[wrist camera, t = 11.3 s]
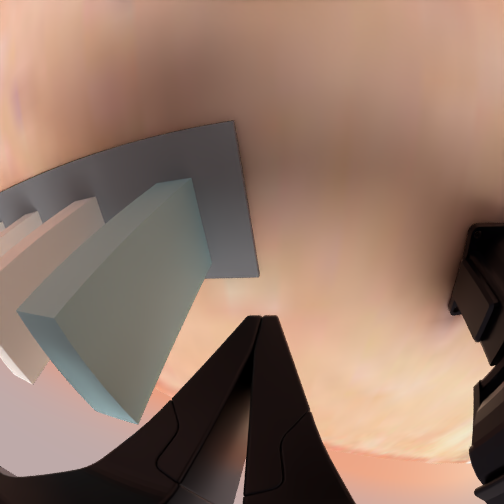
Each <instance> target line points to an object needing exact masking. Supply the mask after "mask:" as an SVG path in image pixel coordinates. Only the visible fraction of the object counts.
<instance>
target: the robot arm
mask: <svg viewBox="0 0 504 504" xmlns="http://www.w3.org/2000/svg"><path fill="white" fill-rule="evenodd" d="M477 231H478V233H477V234H476V235H475V233H476V232H477ZM448 309H449V311H450V314H451V315H461V314H462V316H463V318H464V320H465V322H466V324H467V326H468V328H469V330H470V333H471V335H472V337H473V339H474V340H475V342H480V343H481V345H482V347H483V350H484V352H485V354H486V357H487V359H488V362H489V364H490V366H494V365H496V366H495V367H494V368H493V369H492V370H491V371H490V372H489V373H488V374H487V375H486V376H485V378H484V379H483V380H480V381H479V382H478V383H477V384H476V385H475V386H474V414H473V435H472V446H471V447H470V449H469V456H470V460H471V464H472V467H473V469H474V471H475V473H476V476H477V477H478V479H479V480H480V481H481V483H482V484H483V485H482V486H480V487H478V488H476V489H475V491H474V494H475V496H477V497H479V498H480V499H482V500H484V501H485V502H486V503H487V504H504V223H476V224H473V225H472V226H471V227H470V228H469V231H468V236H467V241H466V245H465V250H464V254H463V258H462V261H461V264H460V267H459V271H458V275H457V279H456V282H455V286H454V289H453V292H452V298H451V301H450V304H449V307H448ZM245 459H246V467H245V481H244V493H243V494H244V496H245V497H243V504H356V503H355V502H354V500H353V499H352V497H351V495H350V493H349V491H348V489H347V488H346V486H345V484H344V482H343V480H342V479H341V477H340V475H339V473H338V471H337V470H336V468H335V466H334V464H333V462H332V460H331V459H330V457H329V455H328V452H327V450H326V448H325V446H324V444H323V442H322V440H321V437H320V435H319V432H318V430H317V427H316V424H315V422H314V419H313V416H312V413H311V412H310V407H309V405H308V402H307V399H306V396H305V393H304V390H303V387H302V384H301V381H300V379H299V376H298V373H297V370H296V367H295V364H294V361H293V358H292V355H291V353H290V350H289V347H288V344H287V341H286V338H285V335H284V332H283V330H282V327H281V324H280V321H279V318H278V316H276V315H265V316H263V317H262V316H260V315H250V316H247V317H246V318H245V319H244V320H243V322H242V323H241V324H240V325H239V326H238V327H237V328H236V329H235V331H234V332H233V333H232V334H231V335H230V336H229V337H228V338H227V339H226V341H225V342H224V343H223V344H222V345H221V346H220V347H219V348H218V349H217V351H216V352H215V353H214V354H213V355H212V356H211V357H210V358H209V359H208V360H207V361H206V363H205V364H204V365H203V366H202V367H201V368H200V369H199V370H198V371H197V372H196V373H195V374H194V376H193V377H192V378H191V379H190V380H189V381H188V382H187V383H186V384H185V385H184V386H183V387H182V388H181V389H180V390H179V391H178V393H177V394H176V395H175V396H174V397H173V398H172V400H170V401H169V402H168V403H167V404H166V405H165V406H164V407H163V408H162V409H161V410H160V411H159V412H158V413H157V414H156V415H155V416H154V417H153V418H152V419H151V420H150V421H149V422H148V423H146V424H145V425H144V426H143V427H142V428H140V429H139V430H138V431H137V432H136V433H135V434H133V435H132V436H131V437H129V438H128V439H127V440H126V441H124V442H123V443H122V444H121V445H119V446H118V447H117V448H115V449H114V450H113V451H111V452H110V453H109V454H107V455H106V456H105V457H103V458H102V459H100V460H99V461H97V462H96V463H94V464H92V465H90V466H87V467H84V468H81V469H77V470H72V471H66V472H59V473H53V474H45V475H37V476H27V477H17V476H15V475H14V474H12V473H10V472H9V471H7V470H5V469H4V468H2V467H1V466H0V504H233V503H234V499H235V496H236V491H237V489H238V485H239V481H240V477H241V473H242V470H243V466H244V462H245Z"/></svg>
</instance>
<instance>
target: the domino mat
mask: <svg viewBox="0 0 504 504" xmlns="http://www.w3.org/2000/svg"><path fill="white" fill-rule="evenodd" d="M186 178H192V182H193V187H194V191H195V196H196V200H197V204H198V208H199V213H200V217H201V221H202V225H203V229H204V233H205V237H206V241H207V245H208V249H209V253H210V257H211V261H212V264H211V266H210V268H209V270H208V272H207V274H206V276H205V279H207V278H250V277H259V275H260V273H259V267H258V261H257V255H256V249H255V243H254V237H253V231H252V225H251V219H250V213H249V207H248V201H247V195H246V189H245V183H244V177H243V171H242V165H241V159H240V154H239V148H238V142H237V136H236V130H235V124H234V121H228V122H221V123H216V124H210V125H205V126H199V127H194V128H189V129H185V130H180V131H175V132H171V133H167V134H162V135H158V136H154V137H150V138H146V139H143V140H139V141H135V142H132V143H128V144H125V145H121V146H118V147H114V148H111V149H108V150H105V151H102V152H98V153H95V154H92V155H89V156H87V157H84V158H81V159H78V160H75V161H72V162H70V163H67V164H64V165H62V166H59V167H57V168H54V169H52V170H49V171H47V172H44V173H42V174H39V175H37V176H35V177H32V178H30V179H28V180H26V181H23V182H21V183H19V184H17V185H15V186H13V187H10V188H8V189H6V190H4V191H2V192H0V222H2V221H3V224H4V226H5V229H6V228H7V227H8V226H10V225H11V224H13V223H14V222H15V221H17V220H18V219H19V218H21V217H22V216H24V215H25V214H29V213H32V212H36V211H38V213H39V216H40V218H41V221H42V223H44V222H46V221H47V220H49V219H50V218H51V217H53V216H54V215H56V214H57V213H58V212H60V211H61V210H63V209H64V208H66V207H67V206H69V205H70V204H71V203H73V202H74V201H78V200H83V199H87V198H91V197H96V199H97V202H98V205H99V208H100V211H101V214H102V217H103V220H104V222H105V224H106V223H107V222H108V221H109V220H111V219H112V218H113V217H114V216H115V215H117V214H118V213H119V212H120V211H122V210H123V209H124V208H125V207H126V206H128V205H129V204H130V203H132V202H133V201H134V200H135V199H137V198H138V197H139V196H141V195H142V194H143V193H144V192H146V191H147V190H148V189H150V188H151V187H152V186H154V185H155V184H156V183H161V182H167V181H173V180H180V179H186Z"/></svg>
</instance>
